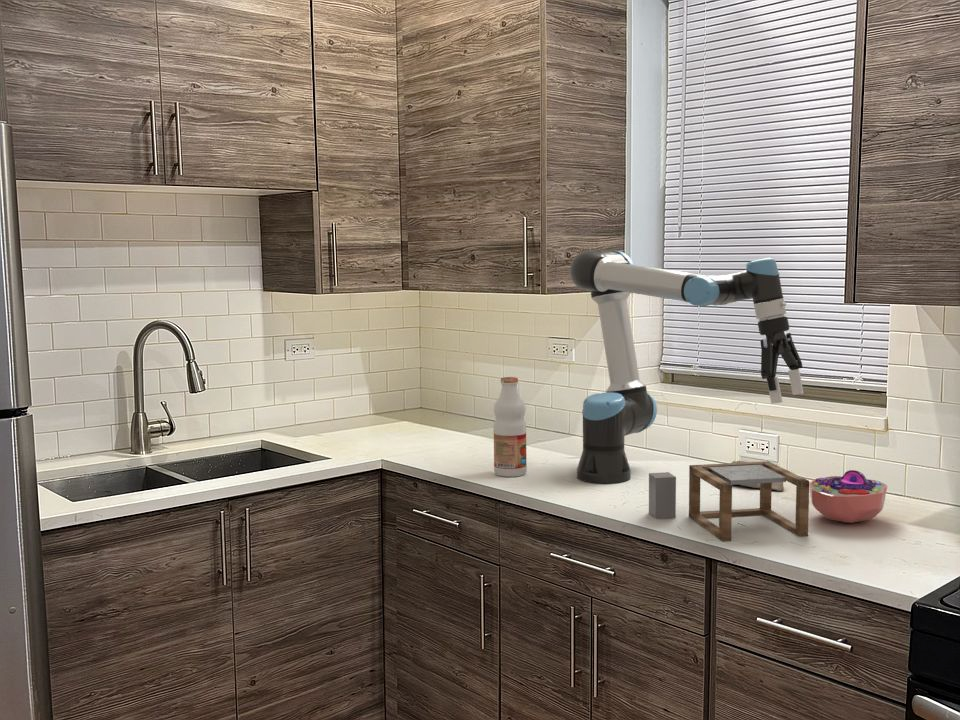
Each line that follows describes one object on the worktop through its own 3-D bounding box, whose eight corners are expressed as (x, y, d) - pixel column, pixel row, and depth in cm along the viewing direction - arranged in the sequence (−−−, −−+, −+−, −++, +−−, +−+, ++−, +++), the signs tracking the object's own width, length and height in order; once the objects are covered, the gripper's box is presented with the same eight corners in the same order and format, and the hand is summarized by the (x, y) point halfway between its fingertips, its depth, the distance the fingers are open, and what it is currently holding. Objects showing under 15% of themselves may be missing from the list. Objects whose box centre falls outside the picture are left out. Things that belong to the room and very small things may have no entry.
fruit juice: (490, 471, 274) (489, 376, 270) (522, 469, 275) (521, 375, 272) (498, 478, 264) (497, 380, 261) (530, 476, 266) (529, 379, 263)
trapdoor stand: (688, 516, 224) (689, 465, 222) (767, 511, 227) (768, 461, 225) (722, 541, 204) (723, 485, 203) (808, 535, 207) (809, 480, 206)
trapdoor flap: (704, 471, 220) (704, 467, 220) (761, 468, 223) (762, 464, 222) (728, 484, 207) (728, 480, 207) (788, 481, 209) (788, 477, 209)
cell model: (790, 519, 220) (791, 472, 219) (837, 505, 232) (839, 460, 231) (856, 536, 206) (858, 486, 205) (903, 519, 218) (905, 472, 217)
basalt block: (648, 513, 227) (648, 473, 226) (668, 512, 228) (668, 472, 227) (655, 519, 222) (655, 478, 221) (675, 517, 223) (676, 476, 222)
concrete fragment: (779, 494, 244) (779, 468, 243) (721, 486, 253) (721, 461, 252) (789, 487, 250) (789, 462, 249) (731, 479, 259) (732, 455, 259)
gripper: (765, 320, 229) (781, 405, 229) (804, 310, 248) (820, 389, 248) (737, 325, 234) (753, 408, 234) (778, 315, 253) (793, 392, 253)
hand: (787, 398), depth 241 cm, fingers open, 13 cm apart
